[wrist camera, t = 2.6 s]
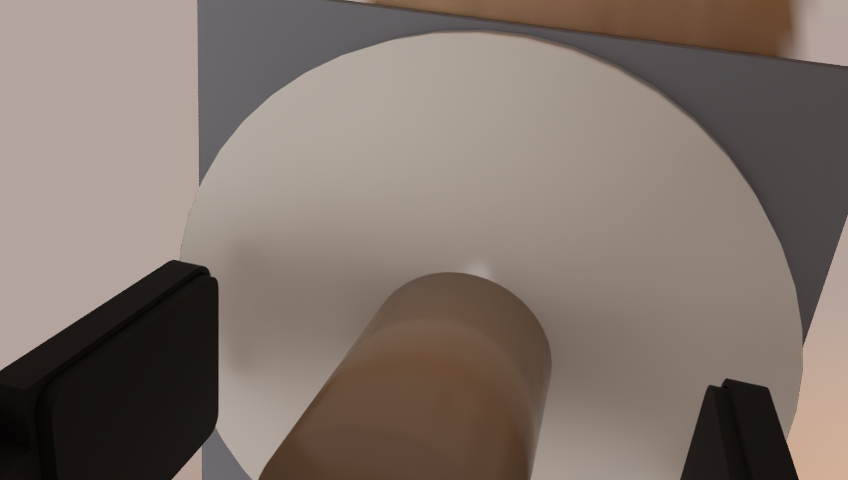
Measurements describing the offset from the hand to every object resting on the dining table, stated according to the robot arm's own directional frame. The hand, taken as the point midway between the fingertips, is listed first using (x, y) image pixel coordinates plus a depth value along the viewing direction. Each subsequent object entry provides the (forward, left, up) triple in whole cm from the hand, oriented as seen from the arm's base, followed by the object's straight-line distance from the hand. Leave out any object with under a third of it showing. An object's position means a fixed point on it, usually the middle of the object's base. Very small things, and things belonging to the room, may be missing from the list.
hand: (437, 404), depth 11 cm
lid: (0, 0, -2) cm, 2 cm away
